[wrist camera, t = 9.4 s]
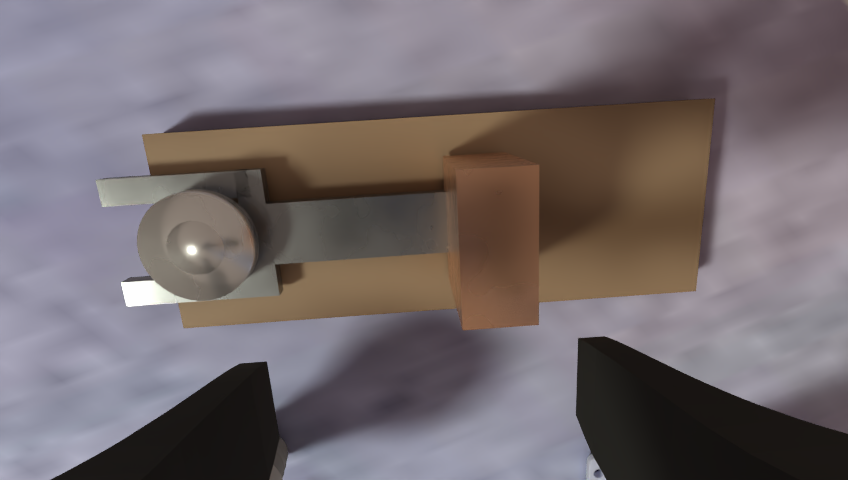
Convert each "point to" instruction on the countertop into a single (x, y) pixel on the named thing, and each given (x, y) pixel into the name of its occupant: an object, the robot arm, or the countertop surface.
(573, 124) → the wooden board
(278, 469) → the lightbulb
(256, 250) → the dished metal disc
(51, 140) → the countertop surface
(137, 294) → the forked latch lever
